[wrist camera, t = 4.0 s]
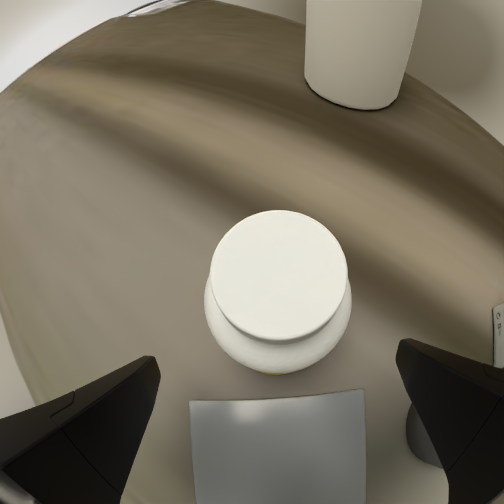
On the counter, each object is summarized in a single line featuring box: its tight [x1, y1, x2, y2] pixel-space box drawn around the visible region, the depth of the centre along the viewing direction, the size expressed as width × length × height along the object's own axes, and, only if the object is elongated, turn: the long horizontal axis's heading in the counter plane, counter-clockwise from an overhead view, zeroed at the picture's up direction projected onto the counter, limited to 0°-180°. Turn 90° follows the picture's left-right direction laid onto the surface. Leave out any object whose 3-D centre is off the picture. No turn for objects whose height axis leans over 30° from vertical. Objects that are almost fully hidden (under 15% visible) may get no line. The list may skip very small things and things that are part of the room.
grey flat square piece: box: [189, 389, 366, 504], centre depth 17 cm, size 12×12×1 cm
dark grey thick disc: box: [406, 403, 443, 469], centre depth 16 cm, size 8×8×3 cm
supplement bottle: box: [204, 210, 352, 375], centre depth 16 cm, size 7×7×13 cm
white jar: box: [305, 0, 422, 110], centre depth 24 cm, size 12×12×20 cm
